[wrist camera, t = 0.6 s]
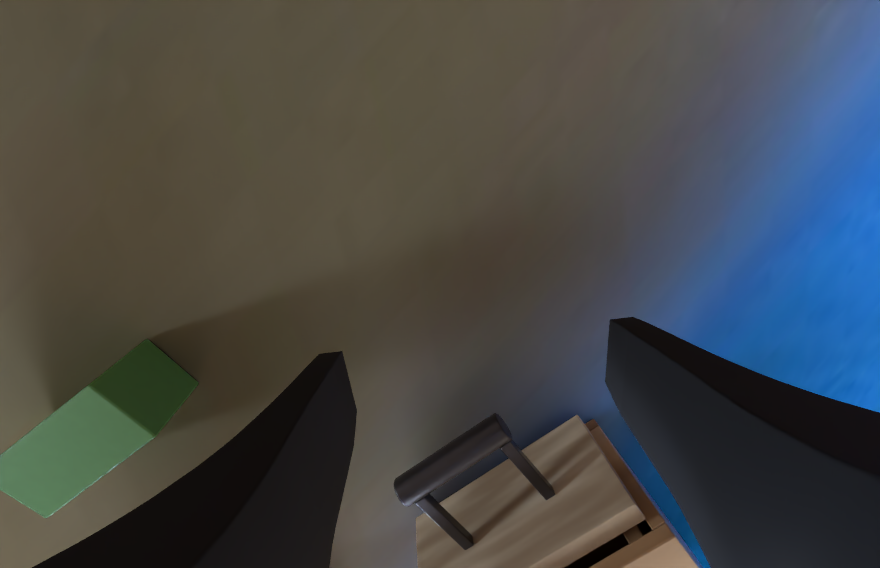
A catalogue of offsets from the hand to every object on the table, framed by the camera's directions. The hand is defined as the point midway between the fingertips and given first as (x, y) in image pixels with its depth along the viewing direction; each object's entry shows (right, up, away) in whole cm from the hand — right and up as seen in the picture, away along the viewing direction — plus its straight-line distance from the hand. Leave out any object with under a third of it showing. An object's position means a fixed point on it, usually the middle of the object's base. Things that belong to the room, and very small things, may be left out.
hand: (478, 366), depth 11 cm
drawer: (+5, -12, +15) cm, 19 cm away
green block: (-18, -4, +11) cm, 21 cm away
